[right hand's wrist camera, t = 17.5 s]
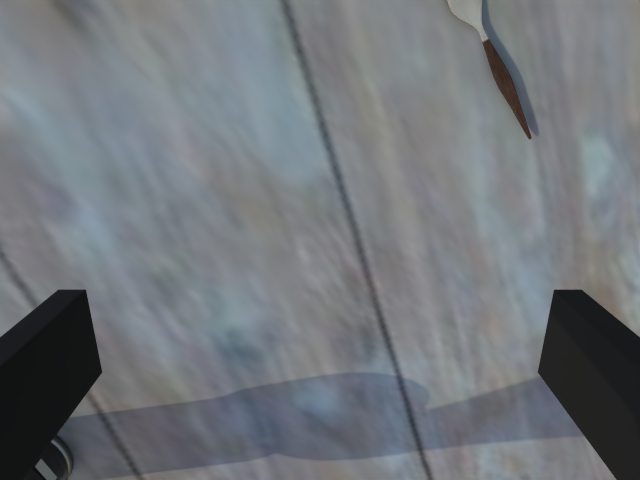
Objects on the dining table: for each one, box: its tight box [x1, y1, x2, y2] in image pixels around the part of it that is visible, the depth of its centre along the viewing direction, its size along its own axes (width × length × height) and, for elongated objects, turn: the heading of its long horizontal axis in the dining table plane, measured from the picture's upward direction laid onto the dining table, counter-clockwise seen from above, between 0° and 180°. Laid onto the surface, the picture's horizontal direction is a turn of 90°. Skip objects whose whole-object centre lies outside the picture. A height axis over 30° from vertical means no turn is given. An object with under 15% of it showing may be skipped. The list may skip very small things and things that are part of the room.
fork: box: [448, 0, 531, 139], centre depth 36 cm, size 3×16×2 cm, turn 32°
